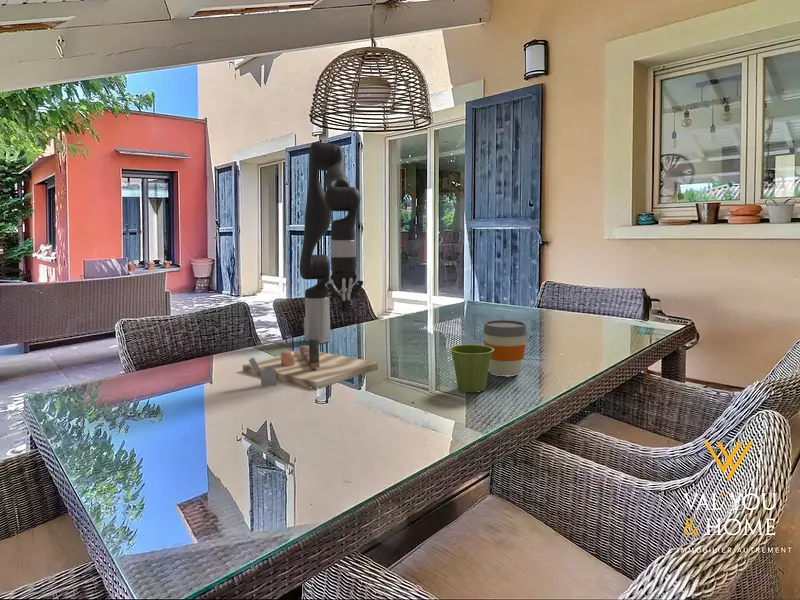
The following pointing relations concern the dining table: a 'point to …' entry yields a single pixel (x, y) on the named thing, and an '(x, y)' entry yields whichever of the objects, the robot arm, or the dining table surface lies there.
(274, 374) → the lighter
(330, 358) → the board
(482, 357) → the plant pot
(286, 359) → the peach rounded cube
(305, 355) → the lever
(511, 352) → the reusable coffee cup
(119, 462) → the dining table surface
